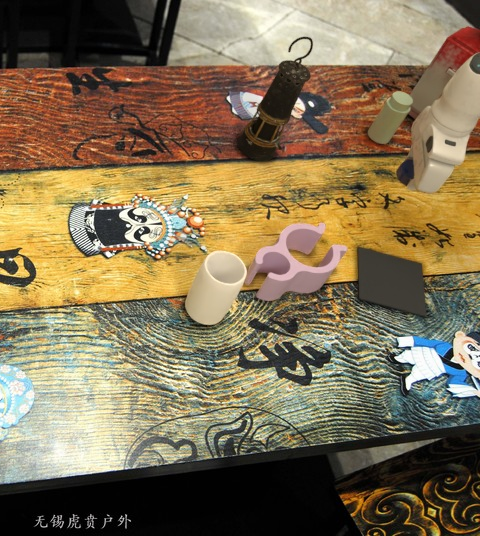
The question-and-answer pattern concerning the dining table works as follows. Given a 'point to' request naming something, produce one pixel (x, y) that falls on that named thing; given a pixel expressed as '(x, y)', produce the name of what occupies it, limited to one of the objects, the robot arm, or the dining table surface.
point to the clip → (293, 263)
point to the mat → (391, 281)
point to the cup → (215, 287)
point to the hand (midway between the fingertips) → (409, 175)
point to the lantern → (275, 109)
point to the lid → (405, 171)
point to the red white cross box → (444, 68)
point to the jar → (390, 117)
